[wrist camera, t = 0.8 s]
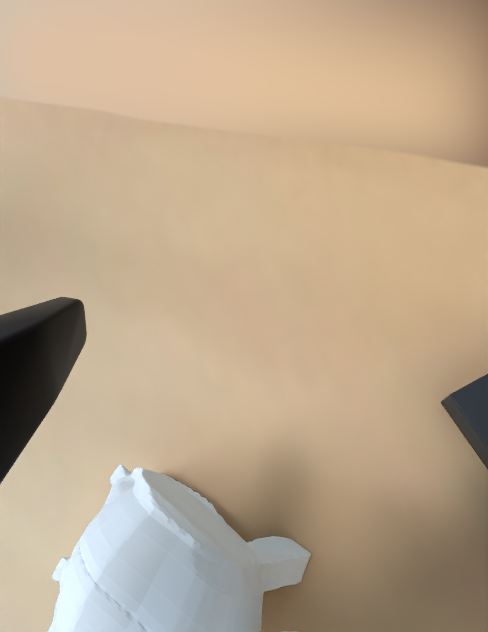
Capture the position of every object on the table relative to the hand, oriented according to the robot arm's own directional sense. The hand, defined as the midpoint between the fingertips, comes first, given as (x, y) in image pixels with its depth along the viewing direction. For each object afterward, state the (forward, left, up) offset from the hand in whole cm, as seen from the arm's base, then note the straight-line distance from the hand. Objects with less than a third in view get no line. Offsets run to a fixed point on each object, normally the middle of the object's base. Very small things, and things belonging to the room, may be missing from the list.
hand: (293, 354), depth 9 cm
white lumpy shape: (-4, +9, -16) cm, 19 cm away
